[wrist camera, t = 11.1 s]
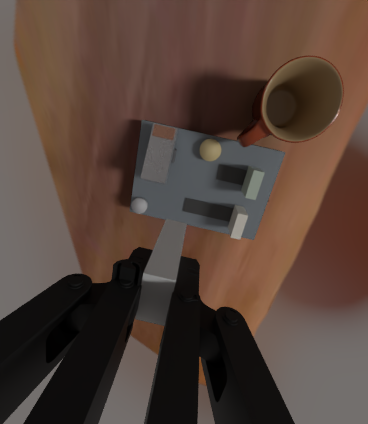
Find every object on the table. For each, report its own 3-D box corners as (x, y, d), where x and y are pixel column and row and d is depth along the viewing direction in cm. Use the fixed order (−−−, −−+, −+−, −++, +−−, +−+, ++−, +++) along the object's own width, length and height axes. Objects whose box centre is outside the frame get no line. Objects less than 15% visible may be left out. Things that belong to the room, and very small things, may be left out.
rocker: (154, 127, 34) (153, 122, 32) (178, 132, 34) (177, 127, 32) (142, 179, 34) (140, 177, 32) (165, 185, 34) (164, 183, 32)
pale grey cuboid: (234, 204, 37) (238, 213, 33) (243, 206, 37) (248, 215, 33) (227, 226, 38) (230, 237, 35) (236, 228, 38) (240, 239, 35)
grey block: (248, 165, 35) (254, 170, 31) (258, 167, 35) (264, 172, 31) (240, 190, 36) (245, 197, 32) (250, 192, 36) (255, 200, 32)
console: (146, 120, 37) (139, 119, 33) (279, 150, 37) (288, 153, 33) (134, 205, 42) (126, 214, 38) (250, 232, 42) (255, 243, 38)
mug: (286, 62, 33) (320, 34, 23) (315, 114, 35) (358, 109, 25) (217, 117, 36) (221, 113, 26) (247, 162, 38) (261, 173, 28)
